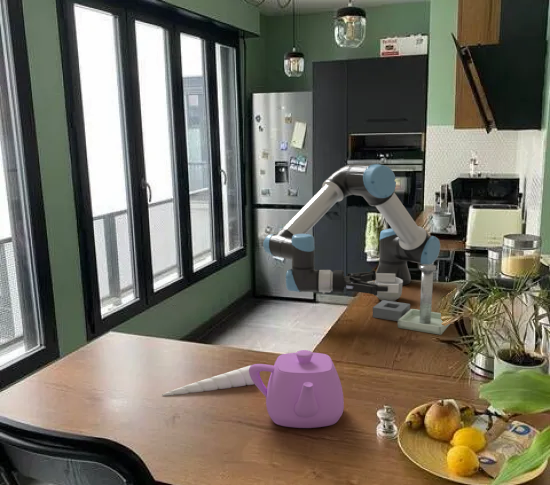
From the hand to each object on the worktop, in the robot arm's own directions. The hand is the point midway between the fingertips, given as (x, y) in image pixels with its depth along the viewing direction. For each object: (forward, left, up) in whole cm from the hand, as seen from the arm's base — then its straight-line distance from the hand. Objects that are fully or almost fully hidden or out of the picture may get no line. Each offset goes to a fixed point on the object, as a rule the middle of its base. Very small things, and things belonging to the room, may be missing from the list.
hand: (396, 282), depth 179 cm
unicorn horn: (+69, -24, -15) cm, 74 cm away
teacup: (-25, -13, -14) cm, 31 cm away
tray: (-4, +9, -14) cm, 17 cm away
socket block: (-8, -4, -14) cm, 17 cm away
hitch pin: (-4, +9, -13) cm, 16 cm away
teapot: (+69, +3, -14) cm, 71 cm away
